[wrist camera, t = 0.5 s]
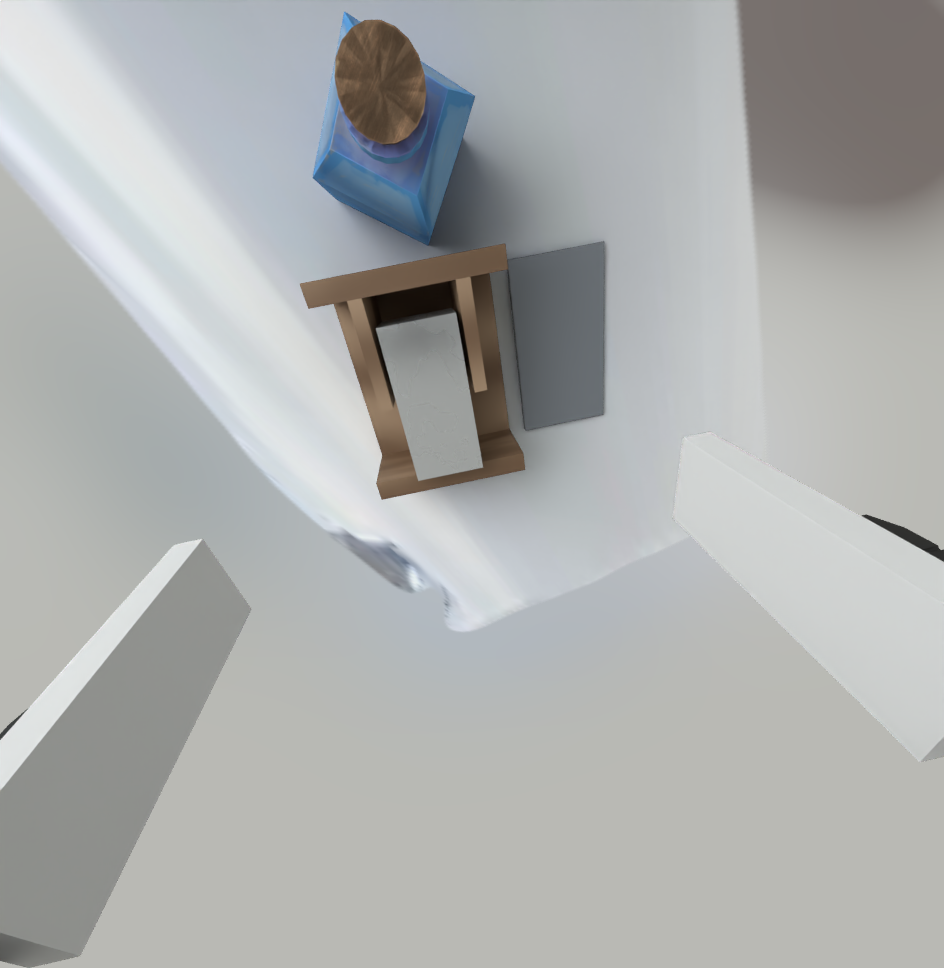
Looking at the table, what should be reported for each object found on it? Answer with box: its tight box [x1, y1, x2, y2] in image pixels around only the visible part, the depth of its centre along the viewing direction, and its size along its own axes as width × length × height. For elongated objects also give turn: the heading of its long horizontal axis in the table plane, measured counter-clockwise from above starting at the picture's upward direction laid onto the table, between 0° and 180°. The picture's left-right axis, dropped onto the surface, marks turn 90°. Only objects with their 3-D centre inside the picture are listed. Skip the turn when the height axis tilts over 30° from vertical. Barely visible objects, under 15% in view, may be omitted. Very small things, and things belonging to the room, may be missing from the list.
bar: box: [376, 308, 483, 481], centre depth 25 cm, size 10×5×4 cm, turn 10°
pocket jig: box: [300, 244, 525, 500], centre depth 27 cm, size 14×11×8 cm
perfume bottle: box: [313, 12, 475, 245], centre depth 18 cm, size 6×6×12 cm
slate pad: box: [507, 241, 604, 430], centre depth 30 cm, size 13×7×1 cm, turn 10°
